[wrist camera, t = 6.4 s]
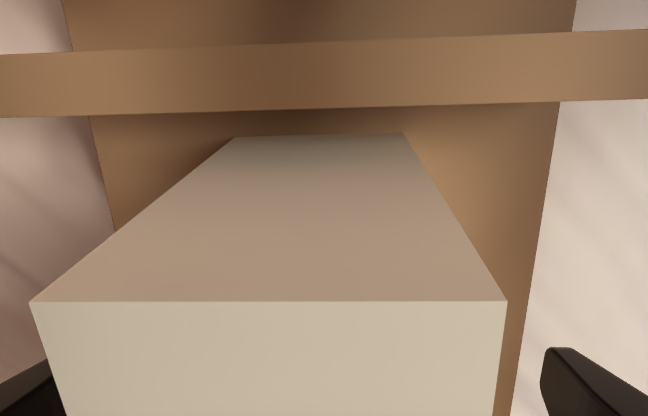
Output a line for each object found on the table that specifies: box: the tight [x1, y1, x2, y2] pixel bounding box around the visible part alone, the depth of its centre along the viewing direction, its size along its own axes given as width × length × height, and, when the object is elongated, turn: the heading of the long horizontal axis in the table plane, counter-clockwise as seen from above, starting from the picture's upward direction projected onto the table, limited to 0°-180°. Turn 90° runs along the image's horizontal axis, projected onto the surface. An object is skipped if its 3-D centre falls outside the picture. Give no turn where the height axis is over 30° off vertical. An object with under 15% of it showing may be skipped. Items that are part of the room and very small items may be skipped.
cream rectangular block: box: [28, 132, 508, 416], centre depth 8 cm, size 4×8×7 cm, turn 2°
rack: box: [0, 0, 648, 416], centre depth 8 cm, size 11×23×4 cm, turn 2°
